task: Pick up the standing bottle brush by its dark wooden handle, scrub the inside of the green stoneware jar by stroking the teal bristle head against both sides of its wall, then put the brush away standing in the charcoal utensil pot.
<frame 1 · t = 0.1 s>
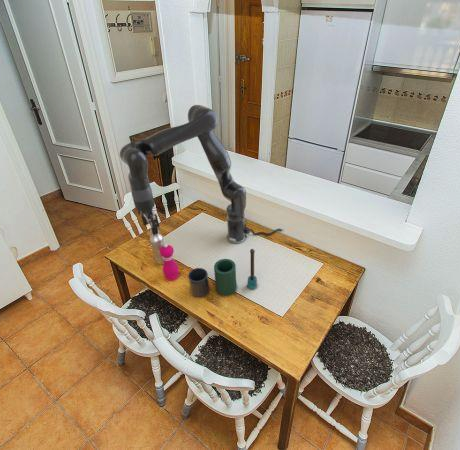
hand: (150, 229, 132), 29 cm above the table, tool pointing down, fingers open, 8 cm apart
silver tall rounded piece: (161, 261, 159), on the table
bottle brush: (252, 286, 145), on the table
green jar: (226, 288, 144), on the table
pepper mill: (172, 276, 151), on the table
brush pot: (200, 290, 144), on the table
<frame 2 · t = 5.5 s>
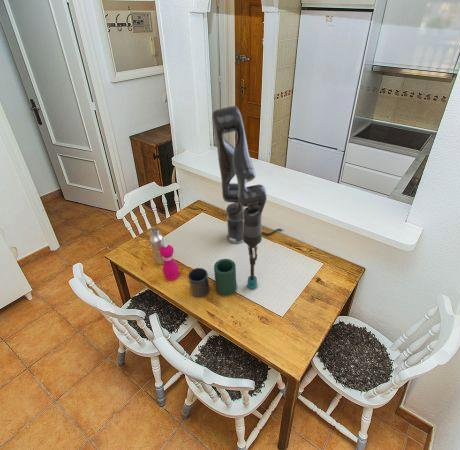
hand: (252, 262, 136), 15 cm above the table, tool pointing down, fingers closed on bottle brush
bottle brush: (252, 286, 145), on the table, touching gripper
everything else where it was.
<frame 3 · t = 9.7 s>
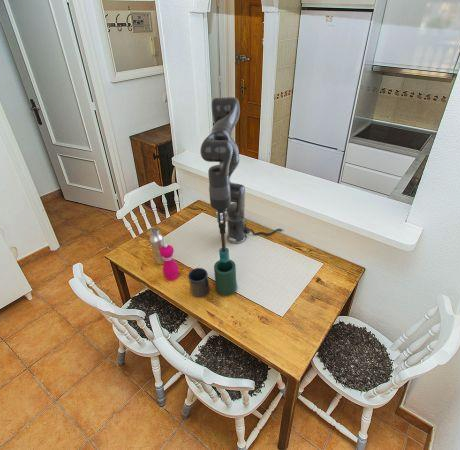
hand: (222, 231, 125), 33 cm above the table, tool pointing down, fingers closed on bottle brush
bottle brush: (224, 259, 134), point 18 cm above the table, touching gripper
everything else where it was.
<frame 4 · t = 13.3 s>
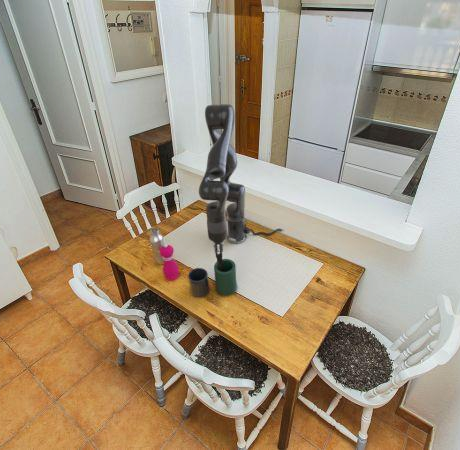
hand: (219, 259, 133), 18 cm above the table, tool pointing down, fingers closed on bottle brush
bottle brush: (221, 283, 143), point 3 cm above the table, touching gripper
everything else where it was.
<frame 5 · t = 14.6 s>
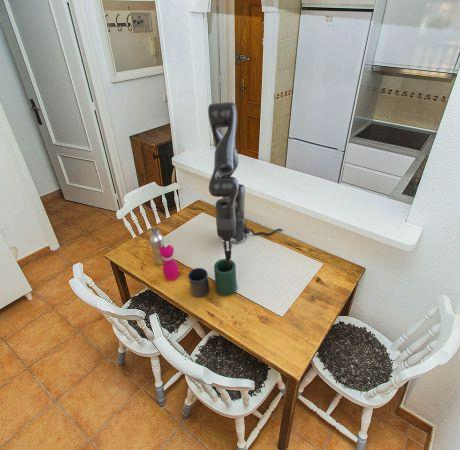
hand: (228, 256, 133), 19 cm above the table, tool pointing down, fingers closed on bottle brush
bottle brush: (229, 281, 142), point 4 cm above the table, touching gripper
everything else where it was.
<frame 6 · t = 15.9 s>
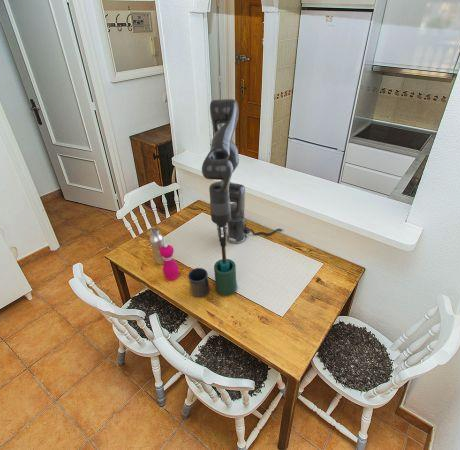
hand: (223, 244, 128), 26 cm above the table, tool pointing down, fingers closed on bottle brush
bottle brush: (225, 270, 138), point 11 cm above the table, touching gripper
everything else where it was.
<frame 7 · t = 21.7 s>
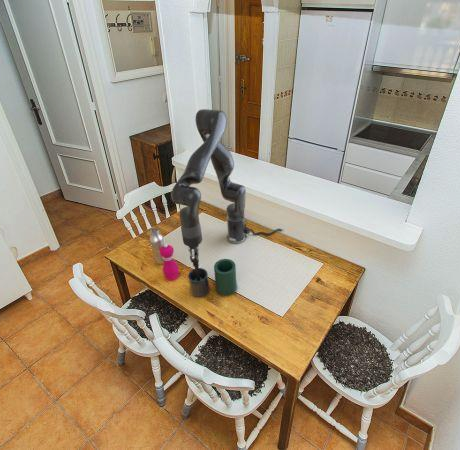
hand: (196, 263, 134), 17 cm above the table, tool pointing down, fingers closed on bottle brush
bottle brush: (199, 288, 143), point 2 cm above the table, touching gripper
everything else where it was.
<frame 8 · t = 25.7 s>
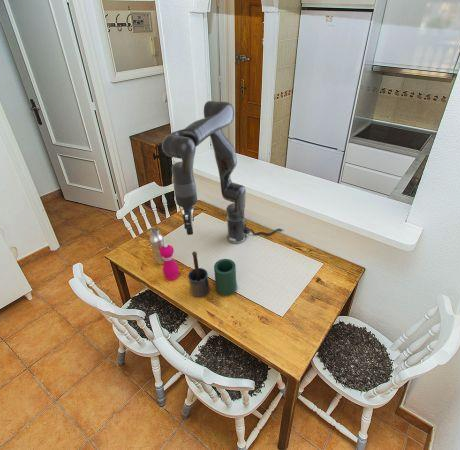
hand: (190, 227, 122), 36 cm above the table, tool pointing down, fingers open, 8 cm apart
bottle brush: (199, 289, 143), point 1 cm above the table, touching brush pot
everything else where it was.
at the end: bottle brush 0.0 cm off-centre in the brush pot, point 0.8 cm above the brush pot's base; the gripper is holding nothing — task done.
